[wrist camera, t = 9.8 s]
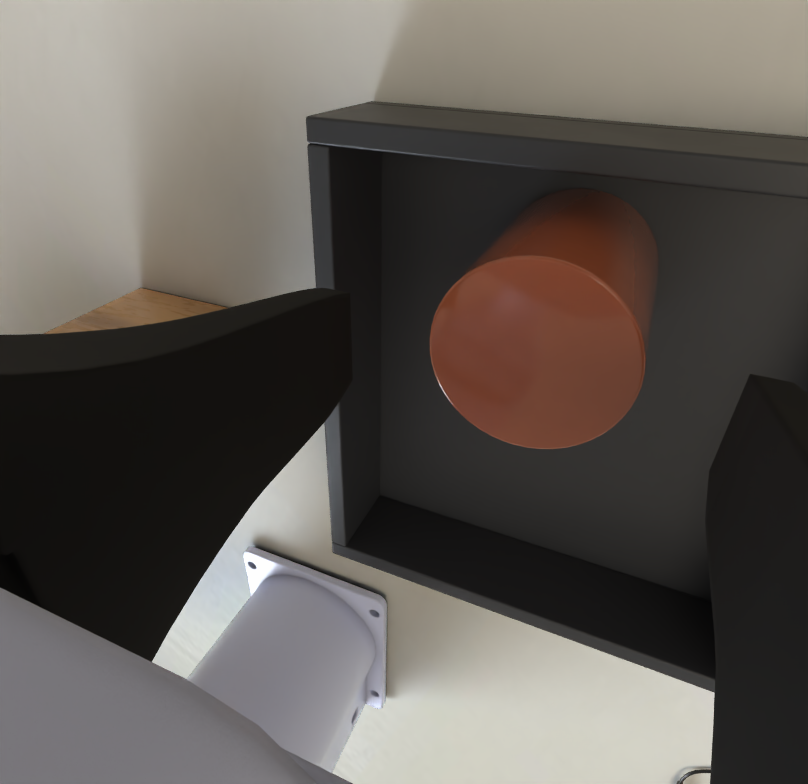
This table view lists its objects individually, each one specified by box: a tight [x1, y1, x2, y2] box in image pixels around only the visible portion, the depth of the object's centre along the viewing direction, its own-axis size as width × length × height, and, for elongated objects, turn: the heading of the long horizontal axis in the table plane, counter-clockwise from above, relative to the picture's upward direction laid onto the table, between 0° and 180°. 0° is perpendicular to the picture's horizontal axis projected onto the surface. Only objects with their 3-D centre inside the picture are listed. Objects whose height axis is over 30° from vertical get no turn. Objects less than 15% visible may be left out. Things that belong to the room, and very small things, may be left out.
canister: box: [430, 188, 659, 449], centre depth 13 cm, size 4×4×6 cm
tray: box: [306, 101, 808, 693], centre depth 16 cm, size 15×14×4 cm
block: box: [44, 288, 227, 334], centre depth 22 cm, size 5×5×5 cm
